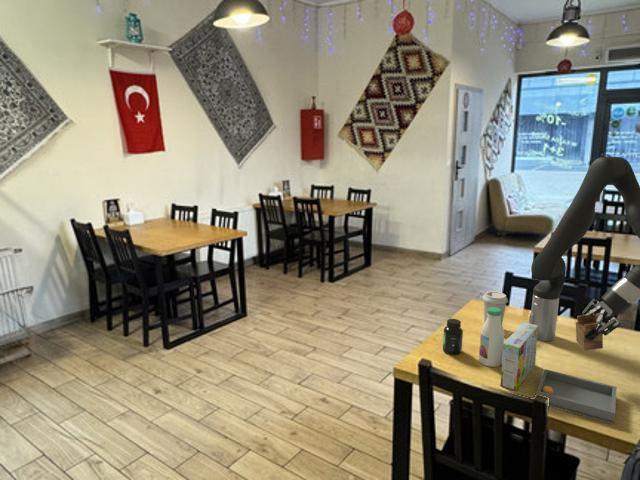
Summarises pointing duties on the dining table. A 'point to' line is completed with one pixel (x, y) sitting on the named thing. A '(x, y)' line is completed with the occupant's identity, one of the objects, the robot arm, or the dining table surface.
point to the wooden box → (583, 328)
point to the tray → (579, 395)
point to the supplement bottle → (453, 337)
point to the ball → (547, 389)
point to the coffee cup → (494, 302)
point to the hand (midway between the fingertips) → (583, 333)
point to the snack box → (519, 355)
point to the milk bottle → (492, 339)
